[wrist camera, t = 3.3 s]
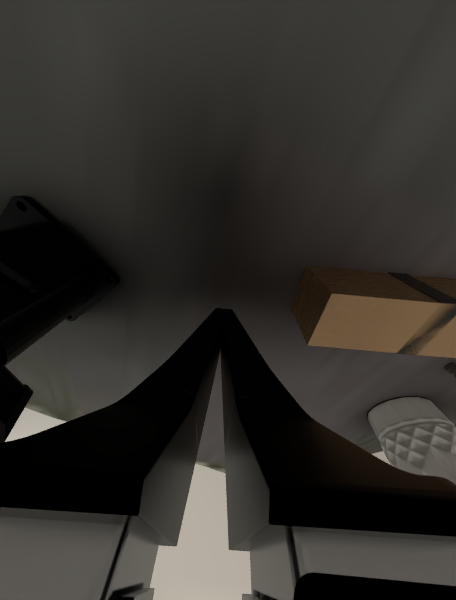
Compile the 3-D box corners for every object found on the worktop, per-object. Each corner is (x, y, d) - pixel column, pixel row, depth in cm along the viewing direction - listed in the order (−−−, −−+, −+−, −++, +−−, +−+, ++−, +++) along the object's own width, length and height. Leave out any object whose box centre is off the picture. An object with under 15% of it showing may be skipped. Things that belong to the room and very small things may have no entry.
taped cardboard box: (291, 310, 13) (307, 345, 10) (306, 264, 11) (332, 292, 8) (444, 323, 14) (504, 362, 11) (486, 281, 12) (575, 314, 9)
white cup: (411, 384, 18) (566, 559, 10) (454, 406, 20) (613, 568, 11) (347, 414, 22) (417, 558, 13) (387, 431, 24) (471, 565, 15)
